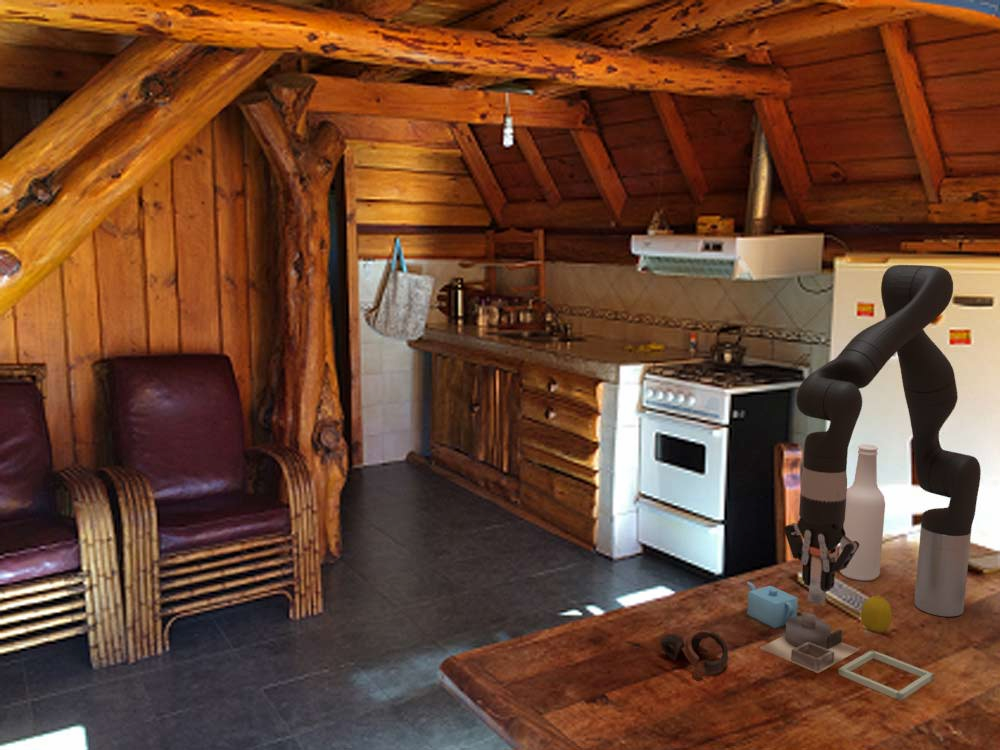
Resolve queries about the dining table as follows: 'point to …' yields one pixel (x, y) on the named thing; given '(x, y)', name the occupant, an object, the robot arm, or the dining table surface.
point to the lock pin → (816, 577)
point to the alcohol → (864, 518)
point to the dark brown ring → (688, 647)
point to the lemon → (876, 614)
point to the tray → (898, 695)
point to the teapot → (771, 605)
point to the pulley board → (810, 644)
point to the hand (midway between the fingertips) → (817, 586)
